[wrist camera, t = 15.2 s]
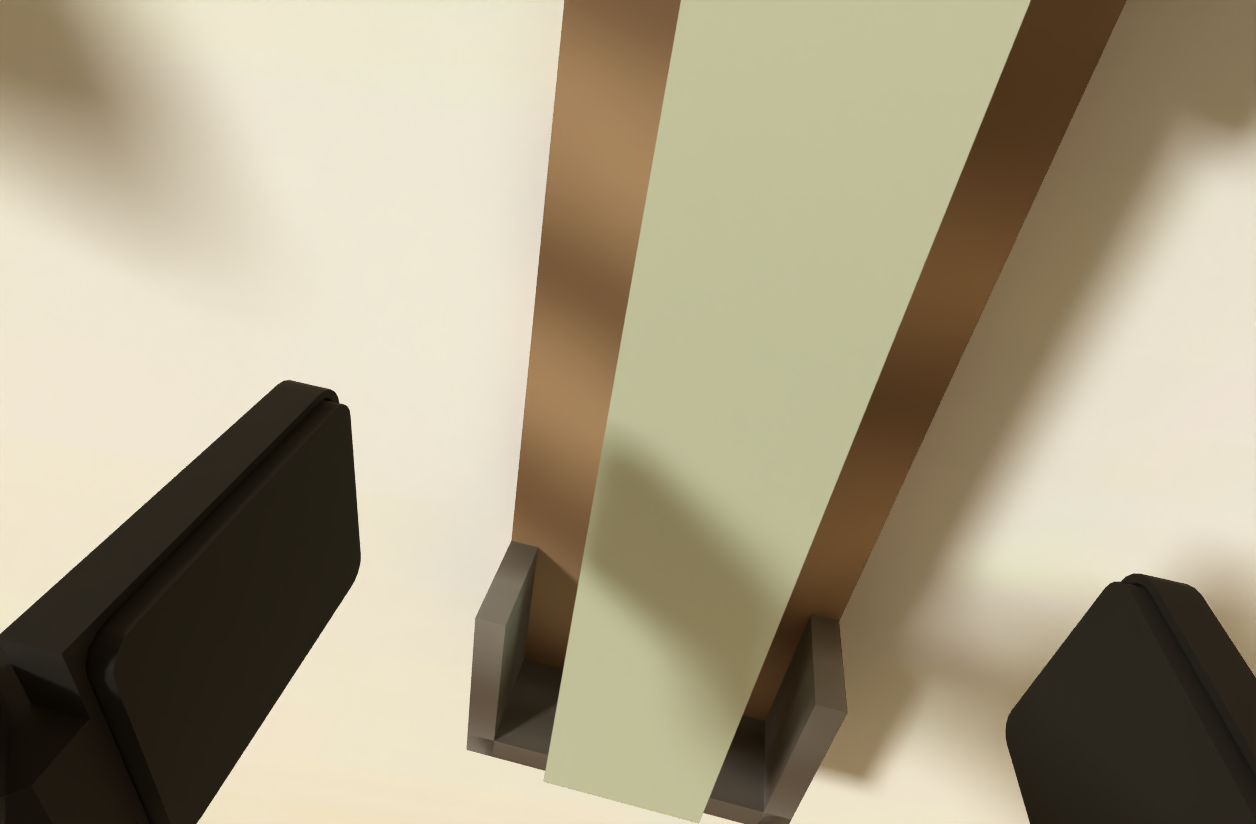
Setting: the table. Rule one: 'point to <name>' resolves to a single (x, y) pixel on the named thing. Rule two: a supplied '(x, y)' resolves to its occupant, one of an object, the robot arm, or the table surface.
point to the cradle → (588, 353)
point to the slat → (753, 354)
